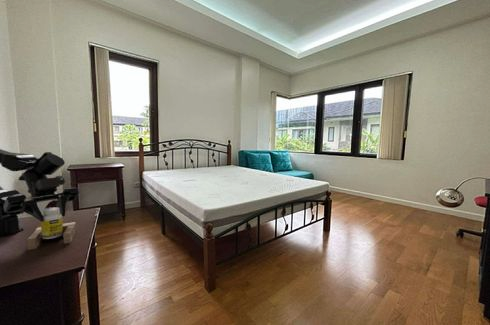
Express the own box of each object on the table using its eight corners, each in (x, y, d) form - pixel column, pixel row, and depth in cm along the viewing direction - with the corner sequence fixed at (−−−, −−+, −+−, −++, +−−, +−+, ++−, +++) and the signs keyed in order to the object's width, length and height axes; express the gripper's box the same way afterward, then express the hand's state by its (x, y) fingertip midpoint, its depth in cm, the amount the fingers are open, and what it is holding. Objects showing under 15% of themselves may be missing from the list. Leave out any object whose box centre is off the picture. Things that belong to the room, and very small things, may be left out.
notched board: (38, 236, 73) (38, 227, 73) (76, 231, 79) (75, 222, 79) (27, 249, 64) (27, 238, 64) (70, 242, 70) (70, 232, 70)
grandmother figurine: (50, 224, 84) (49, 195, 83) (42, 224, 84) (41, 194, 83) (69, 218, 92) (67, 191, 90) (61, 217, 92) (60, 190, 91)
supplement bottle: (49, 240, 68) (48, 212, 67) (37, 238, 69) (36, 210, 68) (66, 233, 73) (66, 207, 72) (55, 231, 74) (54, 205, 73)
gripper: (4, 171, 62) (21, 212, 58) (76, 166, 79) (93, 198, 75) (-3, 192, 66) (11, 232, 62) (66, 184, 83) (81, 215, 79)
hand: (53, 218), depth 70 cm, fingers closed on supplement bottle, 5 cm apart
